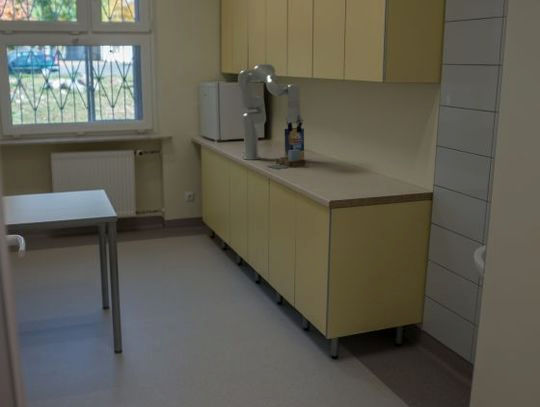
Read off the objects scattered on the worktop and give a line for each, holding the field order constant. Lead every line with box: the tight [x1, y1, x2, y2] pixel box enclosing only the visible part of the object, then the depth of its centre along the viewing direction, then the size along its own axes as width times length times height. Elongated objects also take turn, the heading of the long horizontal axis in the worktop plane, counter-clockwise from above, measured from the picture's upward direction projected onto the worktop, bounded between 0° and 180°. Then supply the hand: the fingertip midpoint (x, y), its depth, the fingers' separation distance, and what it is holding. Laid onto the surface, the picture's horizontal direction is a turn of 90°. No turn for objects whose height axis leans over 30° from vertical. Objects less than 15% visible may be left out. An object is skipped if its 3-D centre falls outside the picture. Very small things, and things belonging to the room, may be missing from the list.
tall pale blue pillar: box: [288, 149, 300, 162], centre depth 383 cm, size 4×7×10 cm, turn 123°
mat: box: [266, 164, 290, 170], centre depth 380 cm, size 12×8×1 cm
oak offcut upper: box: [279, 156, 288, 161], centre depth 392 cm, size 4×6×2 cm
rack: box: [275, 158, 306, 168], centre depth 387 cm, size 16×11×4 cm
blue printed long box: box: [284, 127, 305, 160], centre depth 399 cm, size 7×11×22 cm, turn 123°
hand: (294, 131), depth 379 cm, fingers open, 9 cm apart
